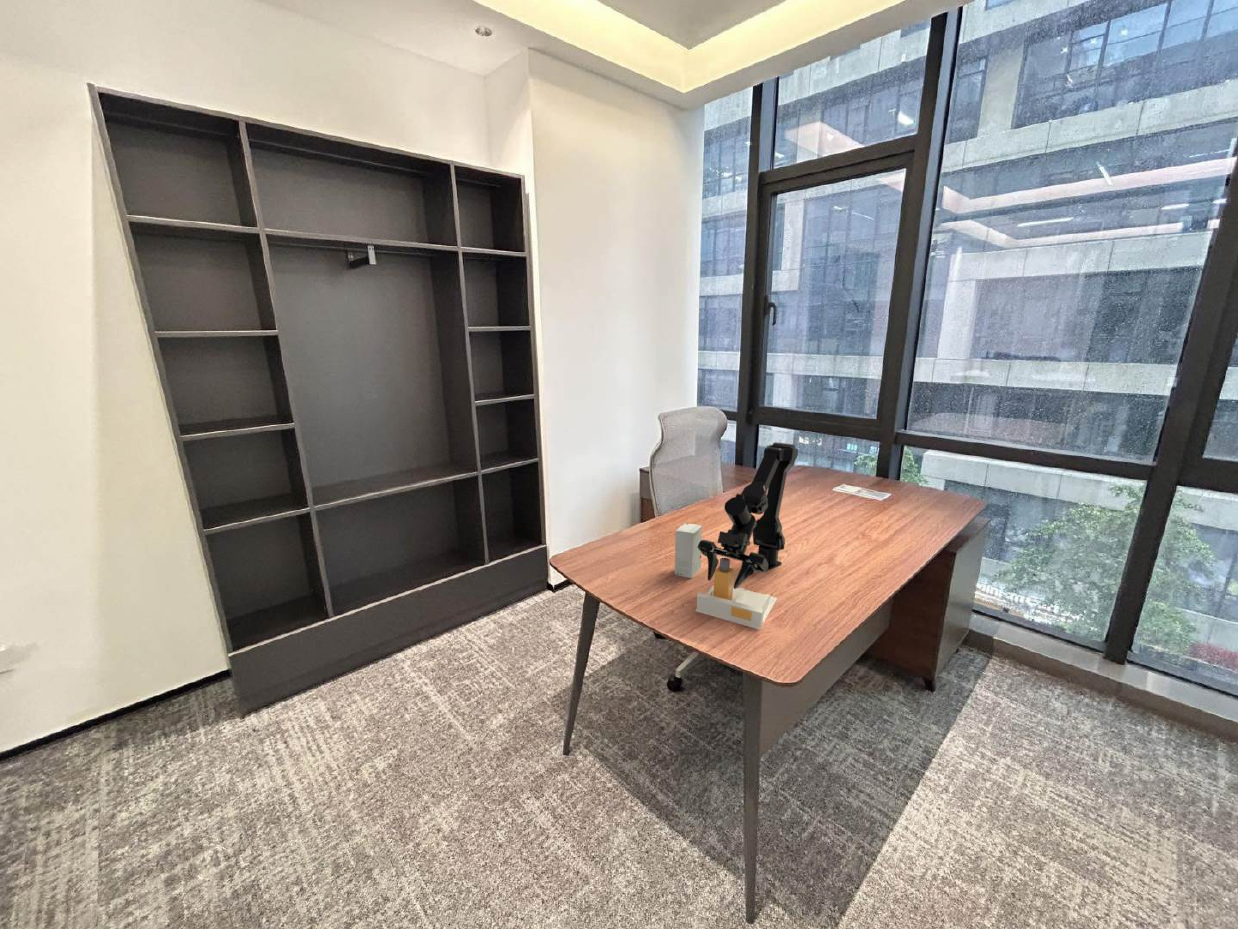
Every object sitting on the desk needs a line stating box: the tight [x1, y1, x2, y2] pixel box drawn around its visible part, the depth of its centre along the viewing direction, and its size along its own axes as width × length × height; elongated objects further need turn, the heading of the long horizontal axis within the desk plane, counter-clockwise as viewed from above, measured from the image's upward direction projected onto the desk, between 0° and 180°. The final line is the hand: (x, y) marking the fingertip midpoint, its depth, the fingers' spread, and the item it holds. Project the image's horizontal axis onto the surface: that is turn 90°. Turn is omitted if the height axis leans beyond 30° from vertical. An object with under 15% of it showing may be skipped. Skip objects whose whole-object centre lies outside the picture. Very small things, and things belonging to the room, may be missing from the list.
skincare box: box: [674, 522, 703, 579], centre depth 153 cm, size 8×6×15 cm
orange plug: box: [713, 557, 735, 600], centre depth 133 cm, size 4×4×13 cm
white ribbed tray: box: [695, 584, 778, 630], centre depth 135 cm, size 18×17×5 cm
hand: (721, 584), depth 132 cm, fingers open, 7 cm apart
